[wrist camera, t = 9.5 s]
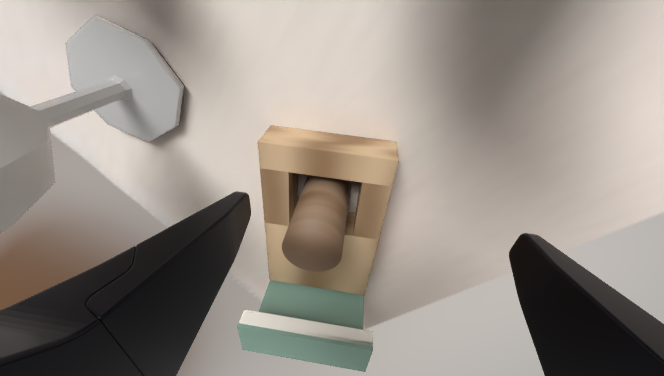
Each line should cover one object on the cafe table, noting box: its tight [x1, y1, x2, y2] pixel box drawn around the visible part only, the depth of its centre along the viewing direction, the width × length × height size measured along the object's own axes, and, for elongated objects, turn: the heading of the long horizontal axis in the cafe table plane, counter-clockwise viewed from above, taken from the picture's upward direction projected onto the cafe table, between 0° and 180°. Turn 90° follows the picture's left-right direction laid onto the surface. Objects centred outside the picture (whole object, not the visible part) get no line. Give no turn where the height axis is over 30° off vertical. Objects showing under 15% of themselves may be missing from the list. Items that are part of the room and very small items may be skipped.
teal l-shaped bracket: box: [237, 280, 373, 372], centre depth 27 cm, size 11×4×9 cm, turn 85°
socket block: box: [258, 126, 399, 295], centre depth 25 cm, size 10×16×3 cm, turn 175°
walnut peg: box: [282, 175, 351, 272], centre depth 21 cm, size 4×4×8 cm
